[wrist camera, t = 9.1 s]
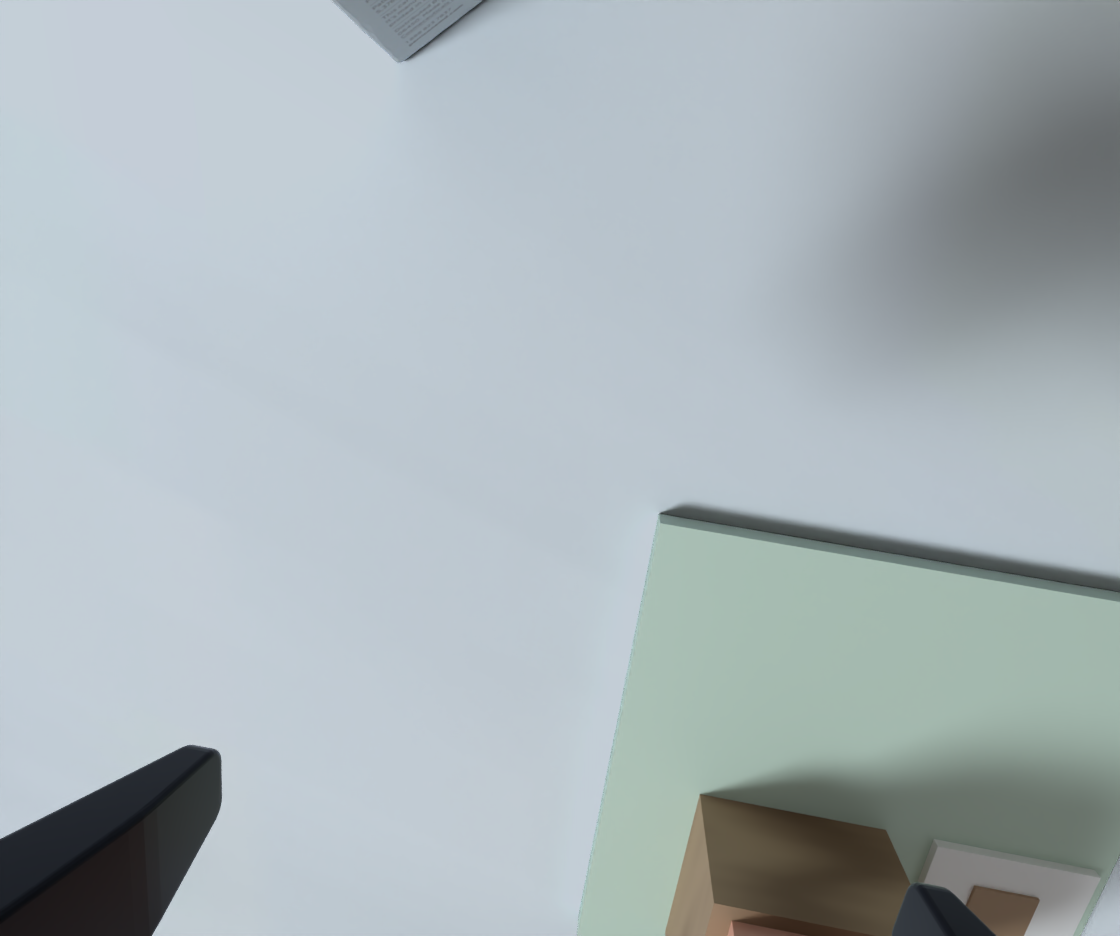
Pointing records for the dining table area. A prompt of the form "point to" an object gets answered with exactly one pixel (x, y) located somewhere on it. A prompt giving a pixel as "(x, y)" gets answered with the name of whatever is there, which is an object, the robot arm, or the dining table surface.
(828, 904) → the walnut brick
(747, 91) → the dining table surface
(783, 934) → the pink knobbed block
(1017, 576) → the board
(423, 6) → the small box
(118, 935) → the robot arm
